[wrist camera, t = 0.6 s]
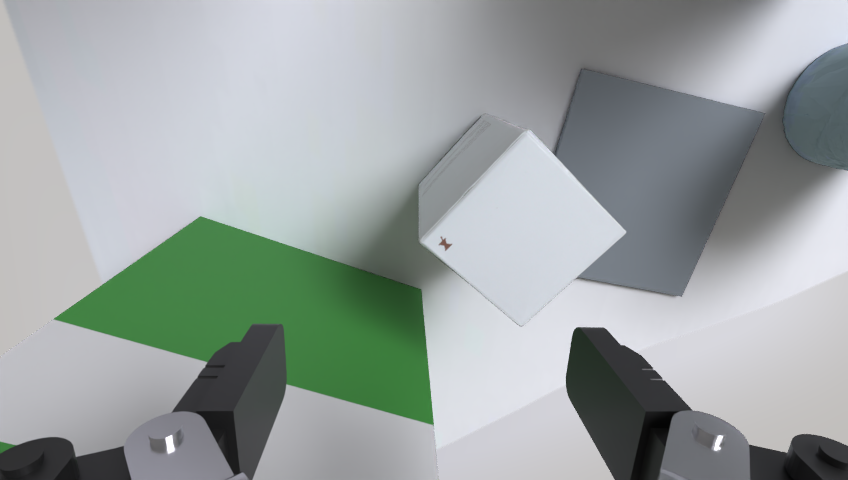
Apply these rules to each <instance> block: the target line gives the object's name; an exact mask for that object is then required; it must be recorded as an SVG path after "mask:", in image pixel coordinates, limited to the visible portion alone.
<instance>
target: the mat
mask: <svg viewBox="0 0 848 480" xmlns="http://www.w3.org/2000/svg"><path fill="white" fill-rule="evenodd" d="M764 115H765V113H762V112H758V111H754V110H750V109H746V108H741V107H737V106H733V105H729V104H725V103H721V102H717V101H713V100H709V99H705V98H701V97H697V96H693V95H688V94H684V93H680V92H676V91H672V90H668V89H664V88H660V87H656V86H652V85H648V84H644V83H639V82H635V81H631V80H627V79H623V78H619V77H615V76H611V75H607V74H603V73H599V72H595V71H591V70H586V69H581V72H580V76H579V79H578V82H577V85H576V88H575V91H574V95H573V98H572V101H571V104H570V107H569V111H568V114H567V117H566V120H565V123H564V127H563V130H562V133H561V136H560V139H559V142H558V146H557V149H556V152H555V156H556V157H557V159H558V160H559V161H560V162H561V163H562V164H563V165H564V166H565V167H566V168H567V169H568V170H569V171H570V172H571V173H572V175H573V176H574V177H575V178H576V179H577V180H578V181H579V182H580V183H581V184H582V185H583V186H584V187H585V188H586V190H587V191H588V192H589V193H590V194H591V195H592V196H593V197H594V198H595V199H596V200H597V201H598V202H599V203H600V204H601V206H602V207H603V208H604V209H605V210H606V211H607V212H608V213H609V214H610V215H611V216H612V217H613V218H614V219H615V220H616V221H617V222H618V223H619V224H620V225H621V227H622V228H623V229H624V230H626V234H625V235H624V236H623V237H621V238H620V239H619V240H618V241H617V242H616V243H615V244H614V245H612V246H611V247H610V248H609V249H608V250H607V251H606V252H605V253H604V254H602V255H601V256H600V257H599V258H598V259H597V260H596V261H595V262H593V263H592V264H591V265H590V266H589V267H588V268H587V269H586V270H584V271H583V272H582V273H581V274H580V275H579V276H578V277H580V278H585V279H590V280H596V281H601V282H607V283H612V284H617V285H623V286H628V287H633V288H639V289H644V290H650V291H655V292H660V293H666V294H671V295H676V296H682V295H683V293H684V290H685V288H686V286H687V284H688V282H689V279H690V277H691V275H692V273H693V271H694V268H695V266H696V264H697V262H698V260H699V258H700V255H701V253H702V251H703V249H704V247H705V244H706V242H707V240H708V238H709V236H710V233H711V231H712V229H713V227H714V225H715V222H716V220H717V218H718V216H719V214H720V212H721V209H722V207H723V205H724V203H725V201H726V198H727V196H728V194H729V192H730V190H731V187H732V185H733V183H734V181H735V179H736V177H737V174H738V172H739V170H740V168H741V166H742V163H743V161H744V159H745V157H746V155H747V152H748V150H749V148H750V146H751V144H752V142H753V139H754V137H755V135H756V133H757V131H758V128H759V126H760V124H761V122H762V120H763V117H764Z"/></svg>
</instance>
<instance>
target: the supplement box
mask: <svg viewBox="0 0 848 480" xmlns="http://www.w3.org/2000/svg"><path fill="white" fill-rule="evenodd" d="M418 186H419V243H420V244H421V245H422V246H423V247H425V248H426V249H427V250H428V251H430V252H431V253H432V254H433V255H434V256H436V257H437V258H438V259H439V260H441V261H442V262H443V263H444V264H445V265H447V266H448V267H449V268H450V269H452V270H453V271H454V272H455V273H456V274H458V275H459V276H460V277H461V278H463V279H464V280H465V281H466V282H467V283H469V284H470V285H471V286H472V287H474V288H475V289H476V290H477V291H478V292H480V293H481V294H482V295H483V296H484V297H485V298H487V299H488V300H489V301H490V302H491V303H493V304H494V305H495V306H496V307H497V308H498V309H500V310H501V311H502V312H503V313H504V314H506V315H507V316H508V317H509V318H510V319H511V320H513V321H514V322H515V323H516V324H517V325H519V326H520V327H522V326H524V325H525V324H526V323H527V322H528V321H529V320H530V319H531V318H532V317H534V316H535V315H536V314H537V313H538V312H539V311H540V310H541V309H542V308H543V307H545V306H546V305H547V304H548V303H549V302H550V301H551V300H552V299H554V298H555V297H556V296H557V295H558V294H559V293H560V292H561V291H562V290H563V289H565V288H566V287H567V286H568V285H569V284H570V283H571V282H572V281H573V280H575V279H576V278H577V277H578V276H579V275H580V274H581V273H582V272H583V271H584V270H586V269H587V268H588V267H589V266H590V265H591V264H592V263H593V262H595V261H596V260H597V259H598V258H599V257H600V256H601V255H602V254H604V253H605V252H606V251H607V250H608V249H609V248H610V247H611V246H612V245H614V244H615V243H616V242H617V241H618V240H619V239H620V238H621V237H623V236H624V235H625V234H626V230H624V229H623V228H622V227H621V225H620V224H619V223H618V222H617V221H616V220H615V219H614V218H613V217H612V216H611V215H610V214H609V213H608V212H607V211H606V210H605V209H604V208H603V207H602V206H601V204H600V203H599V202H598V201H597V200H596V199H595V198H594V197H593V196H592V195H591V194H590V193H589V192H588V191H587V190H586V188H585V187H584V186H583V185H582V184H581V183H580V182H579V181H578V180H577V179H576V178H575V177H574V176H573V175H572V173H571V172H570V171H569V170H568V169H567V168H566V167H565V166H564V165H563V164H562V163H561V162H560V161H559V160H558V159H557V157H556V156H555V155H554V154H553V153H552V152H551V151H550V150H549V149H548V148H547V147H546V146H545V145H544V144H543V143H542V142H541V141H540V140H539V138H538V137H537V136H536V135H535V134H534V133H533V132H532V131H531V130H529V129H524V128H521V127H518V126H515V125H513V124H511V123H508V122H506V121H504V120H501V119H499V118H497V117H494V116H491V115H488V114H484V115H483V116H482V117H481V118H480V119H479V120H478V121H477V122H476V123H475V124H474V125H473V126H472V127H471V128H470V129H469V130H468V131H467V132H466V133H465V134H464V135H463V137H462V138H461V139H460V140H459V141H458V142H457V143H456V144H455V145H454V146H453V147H452V149H451V150H450V151H449V152H448V153H447V154H446V155H445V156H444V157H443V158H442V160H441V161H440V162H439V163H438V164H437V165H436V166H435V167H434V168H433V169H432V171H431V172H430V173H429V174H428V175H427V176H426V177H425V178H424V179H423V180H422V182H421V183H420V184H419V185H418Z"/></svg>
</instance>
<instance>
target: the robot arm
mask: <svg viewBox="0 0 848 480" xmlns="http://www.w3.org/2000/svg"><path fill="white" fill-rule="evenodd" d="M286 383H287V370H286V354H285V338H284V328H283V325H282V324H252V325H251V326H250V328H249V330H248V331H247V333H246V334H245V336H244V337H243V339H242V340H241V342H230V343H228V344H227V345H225V346H224V347H222V348H221V349H219V350H218V351H216V352H215V353H214V354H213V356H212V357H211V358H210V360H209V361H208V362H207V364H206V365H205V368H203V369H202V371H201V372H200V373H199V375H198V378H197V379H195V380H194V382H193V383H192V385H191V386H190V387H189V389H188V390H187V391H186V393H185V394H184V396H183V397H182V398H181V400H180V401H179V402H178V404H177V405H176V407H175V408H174V409H173V411H172V412H171V413H168V414H164V415H161V416H158V417H155V418H153V419H151V420H149V421H147V422H145V423H144V424H142V425H141V426H139V427H138V428H137V429H135V430H134V431H133V432H132V433H131V434H130V436H129V437H128V438H127V440H126V442H125V445H124V446H121V447H118V448H114V449H109V450H105V451H100V452H96V453H91V454H87V455H82V456H78V457H76V455H75V451H74V447H73V444H72V443H71V442H70V441H69V440H67V439H65V438H60V437H46V438H39V439H35V440H31V441H27V442H24V443H22V444H19V445H16V446H14V447H12V448H9V449H8V450H6V451H4V452H2V453H0V480H252V479H253V477H254V474H255V472H256V469H257V466H258V464H259V461H260V459H261V456H262V453H263V451H264V448H265V446H266V443H267V440H268V438H269V435H270V433H271V430H272V427H273V425H274V422H275V420H276V417H277V415H278V412H279V409H280V407H281V404H282V402H283V399H284V395H285V391H286ZM566 388H567V393H568V396H569V398H570V401H571V402H572V404H573V406H574V408H575V410H576V411H577V413H578V415H579V417H580V418H581V420H582V422H583V424H584V426H585V427H586V429H587V431H588V433H589V434H590V436H591V438H592V440H593V442H594V443H595V445H596V447H597V449H598V451H599V452H600V454H601V456H602V458H603V459H604V461H605V463H606V465H607V466H608V468H609V470H610V472H611V473H612V475H613V477H614V479H615V480H848V446H846V445H844V444H842V443H840V442H837V441H834V440H832V439H829V438H825V437H822V436H817V435H811V434H801V435H797V436H795V437H794V438H793V439H792V441H791V445H790V447H789V450H788V453H785V452H780V451H776V450H771V449H766V448H762V447H757V446H752V445H749V444H748V441H747V439H745V437H744V435H743V434H742V433H741V432H740V431H739V430H737V429H736V428H735V427H734V426H732V425H731V424H729V423H728V422H726V421H724V420H722V419H720V418H718V417H716V416H713V415H710V414H707V413H703V412H699V411H693V410H692V409H691V408H690V407H689V406H688V405H687V404H686V403H685V402H684V401H683V400H682V399H681V398H680V396H678V394H677V393H676V392H675V391H674V390H673V389H672V388H671V387H670V386H669V385H668V384H667V383H666V382H665V381H663V380H662V377H661V376H660V375H659V374H658V373H657V372H656V371H655V370H653V368H652V367H651V365H650V364H648V362H647V361H646V360H645V359H644V358H643V357H642V356H641V355H639V354H638V353H636V352H634V351H633V350H631V349H629V348H628V347H626V346H625V345H620V344H619V343H618V342H617V341H616V340H615V338H614V337H613V336H612V335H611V334H610V333H609V332H608V331H607V330H606V329H605V328H590V327H577V328H576V329H575V330H574V332H573V336H572V342H571V348H570V354H569V361H568V367H567V373H566Z"/></svg>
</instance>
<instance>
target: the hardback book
mask: <svg viewBox="0 0 848 480" xmlns="http://www.w3.org/2000/svg"><path fill="white" fill-rule="evenodd" d="M252 324H282V325H283V328H284V338H285V354H286V370H287V383H286V391H285V395H284V399H283V402H282V404H281V407H280V409H279V412H278V415H277V417H276V420H275V422H274V425H273V427H272V430H271V433H270V435H269V438H268V440H267V443H266V446H265V448H264V451H263V453H262V456H261V459H260V461H259V464H258V466H257V469H256V472H255V474H254V477H253V479H252V480H439V478H438V466H437V455H436V445H435V434H434V423H433V412H432V401H431V391H430V380H429V369H428V358H427V347H426V337H425V326H424V315H423V304H422V293H421V289H418V288H415V287H412V286H409V285H406V284H403V283H400V282H397V281H394V280H391V279H388V278H385V277H382V276H379V275H376V274H373V273H370V272H367V271H363V270H360V269H357V268H354V267H351V266H348V265H345V264H342V263H339V262H336V261H333V260H330V259H327V258H324V257H321V256H318V255H315V254H312V253H309V252H306V251H303V250H300V249H297V248H294V247H291V246H288V245H285V244H282V243H279V242H276V241H273V240H270V239H267V238H264V237H261V236H258V235H255V234H252V233H249V232H246V231H243V230H240V229H237V228H234V227H231V226H228V225H225V224H222V223H219V222H216V221H213V220H210V219H207V218H204V217H201V216H200V217H199V218H198V219H196V220H195V221H193V222H192V223H190V224H189V225H188V226H186V227H185V228H183V229H182V230H180V231H179V232H178V233H176V234H175V235H173V236H172V237H170V238H169V239H167V240H166V241H165V242H163V243H162V244H160V245H159V246H157V247H156V248H155V249H153V250H152V251H150V252H149V253H147V254H146V255H145V256H143V257H142V258H140V259H139V260H137V261H136V262H135V263H133V264H132V265H130V266H129V267H127V268H126V269H125V270H123V271H122V272H120V273H119V274H117V275H116V276H114V277H113V278H112V279H110V280H109V281H107V282H106V283H104V284H103V285H102V286H100V287H99V288H97V289H96V290H94V291H93V292H92V293H90V294H89V295H87V296H86V297H84V298H83V299H82V300H80V301H79V302H77V303H76V304H74V305H73V306H71V307H70V308H69V309H67V310H66V311H65V312H63V313H61V314H60V315H59V316H57V317H56V318H54V319H53V320H51V321H50V322H49V323H47V324H46V325H44V326H43V327H41V328H40V329H39V330H37V331H36V332H34V333H33V334H31V335H30V336H29V337H27V338H26V339H24V340H23V341H21V342H20V343H18V344H17V345H16V346H14V347H13V348H11V349H10V350H9V351H7V352H6V353H4V354H3V355H1V356H0V453H2V452H4V451H6V450H8V449H9V448H12V447H14V446H16V445H19V444H22V443H24V442H27V441H31V440H35V439H39V438H46V437H60V438H65V439H67V440H69V441H70V442H71V443H72V444H73V447H74V451H75V455H76V457H78V456H82V455H87V454H91V453H96V452H100V451H105V450H109V449H114V448H118V447H121V446H124V445H125V442H126V440H127V438H128V437H129V436H130V434H131V433H132V432H133V431H134V430H135V429H137V428H138V427H139V426H141V425H142V424H144V423H145V422H147V421H149V420H151V419H153V418H155V417H158V416H161V415H164V414H168V413H171V412H172V411H173V409H174V408H175V407H176V405H177V404H178V402H179V401H180V400H181V398H182V397H183V396H184V394H185V393H186V391H187V390H188V389H189V387H190V386H191V385H192V383H193V382H194V380H195V379H197V378H198V375H199V373H200V372H201V371H202V369H203V368H205V365H206V364H207V362H208V361H209V360H210V358H211V357H212V356H213V354H214V353H215V352H216V351H218V350H219V349H221V348H222V347H224V346H225V345H227V344H228V343H230V342H241V340H242V339H243V337H244V336H245V334H246V333H247V331H248V330H249V328H250V326H251V325H252Z"/></svg>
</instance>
